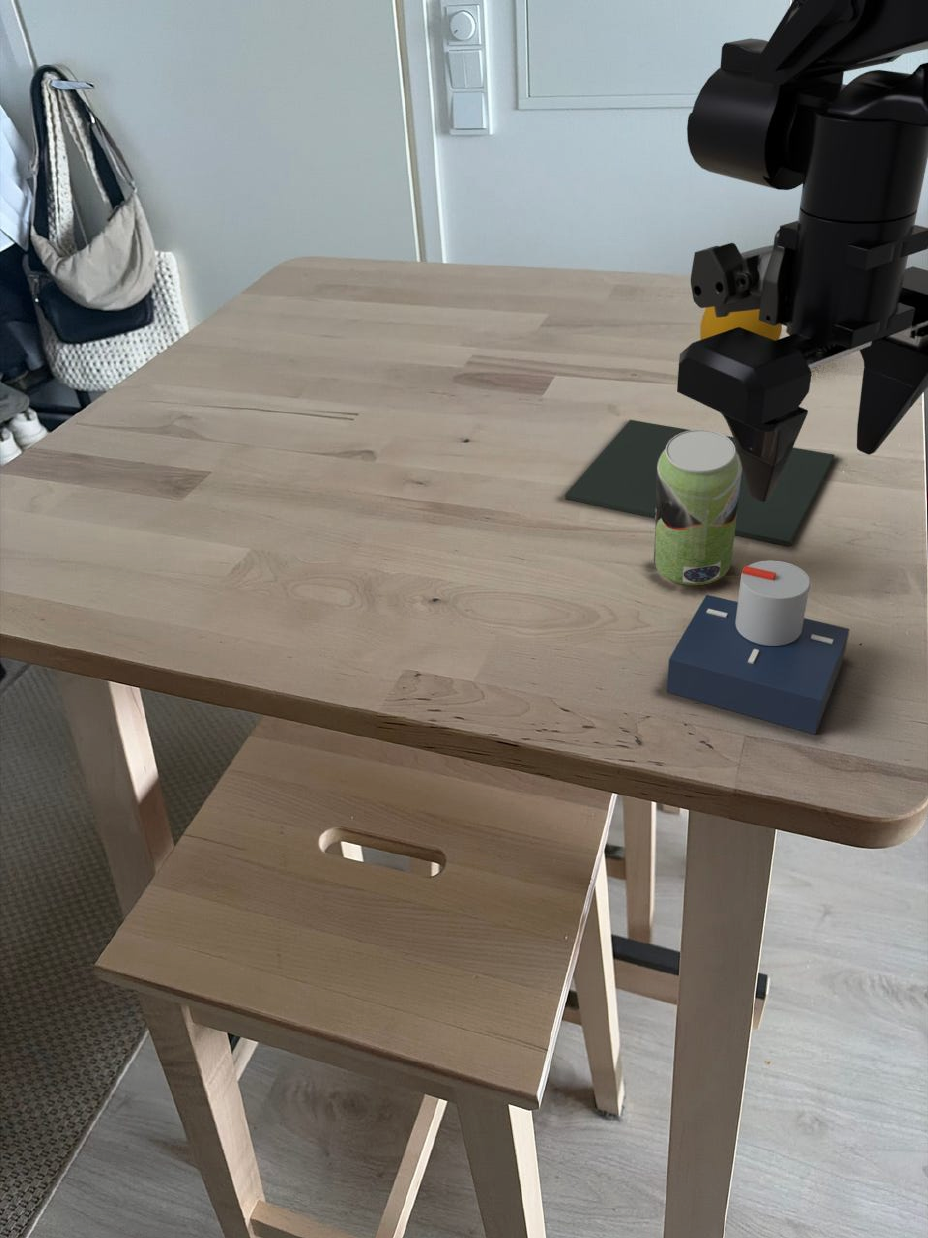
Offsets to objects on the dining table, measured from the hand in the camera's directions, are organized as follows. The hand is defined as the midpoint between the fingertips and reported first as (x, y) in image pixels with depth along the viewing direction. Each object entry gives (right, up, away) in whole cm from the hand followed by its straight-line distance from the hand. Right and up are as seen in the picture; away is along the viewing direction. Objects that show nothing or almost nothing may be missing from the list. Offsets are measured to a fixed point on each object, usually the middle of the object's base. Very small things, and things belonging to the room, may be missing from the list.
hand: (813, 474), depth 61 cm
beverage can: (-3, -6, +19) cm, 20 cm away
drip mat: (0, +4, +30) cm, 31 cm away
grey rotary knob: (0, -9, +8) cm, 12 cm away
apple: (+8, +18, +48) cm, 52 cm away
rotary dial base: (-1, -12, +9) cm, 15 cm away
